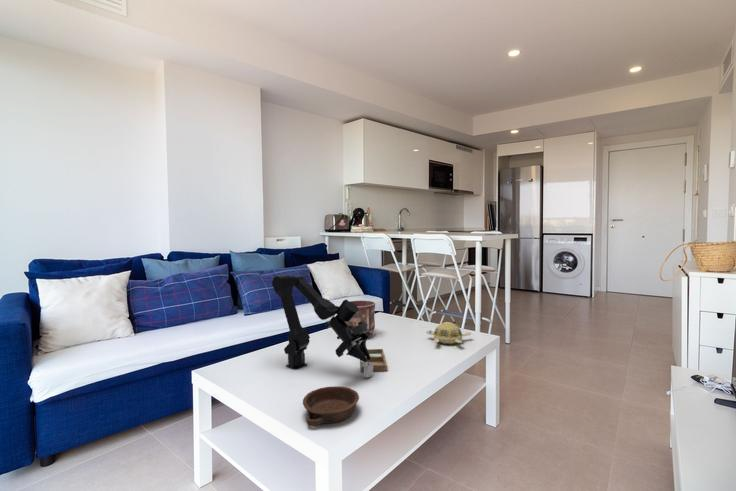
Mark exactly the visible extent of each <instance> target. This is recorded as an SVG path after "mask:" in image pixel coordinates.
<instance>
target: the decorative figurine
mask: <svg viewBox="0 0 736 491" xmlns="http://www.w3.org/2000/svg"><path fill="white" fill-rule="evenodd" d="M425 333H426V334H427V335H430V336H433V338H434V340H433V343H435V344H439V343H440V344H444V345H455V344H460V343H463V341H462V339H463V337H466V336H470V335H472V332H470V331H469V332H465V333H462V330H461V328H460V327H459V326H458V325H457V324H456V323H453V322H450V321H445V322H441V323H440V324H438V325H437V326H436V327H435V329H434V331H433V330H430V329H428V330H427V331H425Z"/></svg>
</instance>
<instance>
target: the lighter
mask: <svg viewBox="0 0 736 491" xmlns="http://www.w3.org/2000/svg"><path fill="white" fill-rule="evenodd" d="M365 357H366V358H367V356H365ZM361 361H362V360H361ZM362 367H364V372H363V375H362V376H363V378H371V377H373V374H374V372H373V365H371V362H364V361H362Z"/></svg>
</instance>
